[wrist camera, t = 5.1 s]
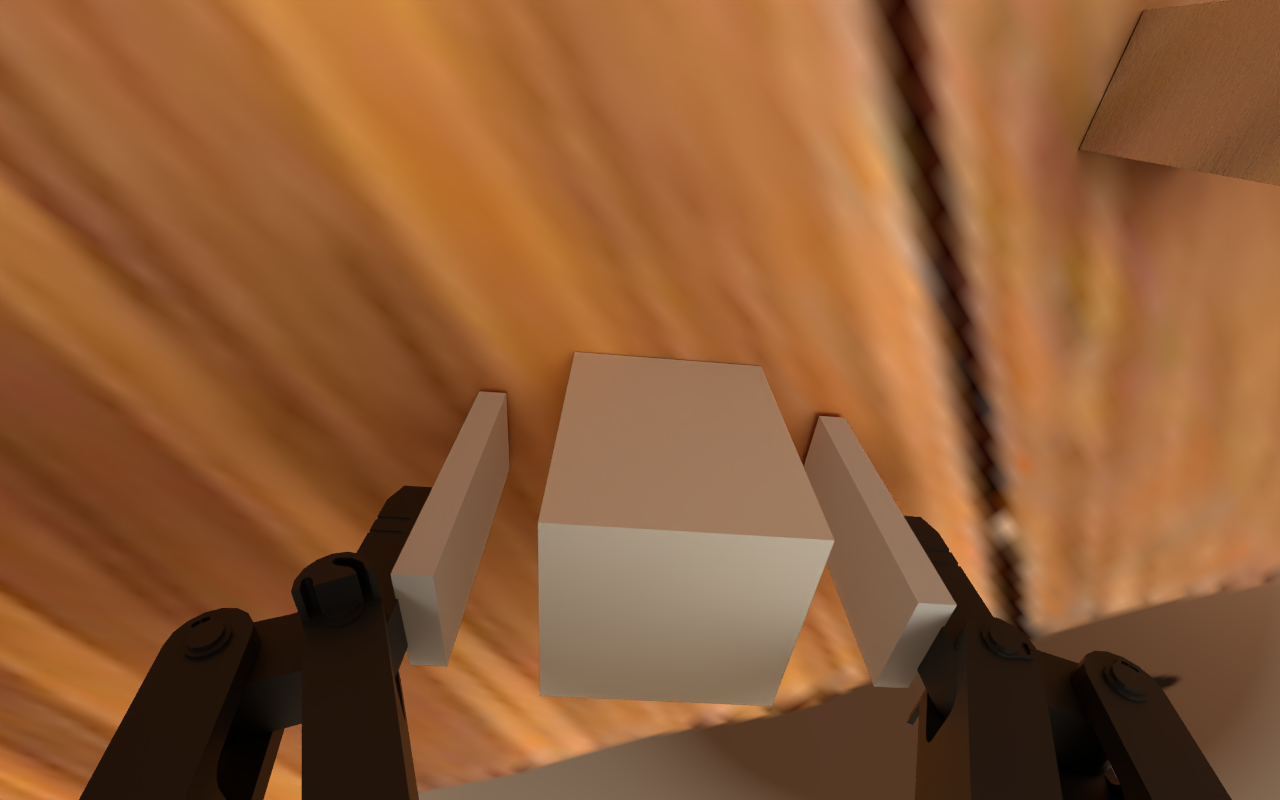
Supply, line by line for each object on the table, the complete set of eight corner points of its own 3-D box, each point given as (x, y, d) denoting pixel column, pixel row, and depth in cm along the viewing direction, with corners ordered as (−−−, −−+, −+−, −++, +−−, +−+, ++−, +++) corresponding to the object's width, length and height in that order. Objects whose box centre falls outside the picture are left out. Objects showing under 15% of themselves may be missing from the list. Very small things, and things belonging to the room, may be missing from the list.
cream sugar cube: (570, 495, 18) (539, 696, 12) (574, 351, 15) (537, 522, 9) (728, 505, 18) (771, 706, 12) (761, 366, 15) (834, 540, 10)
